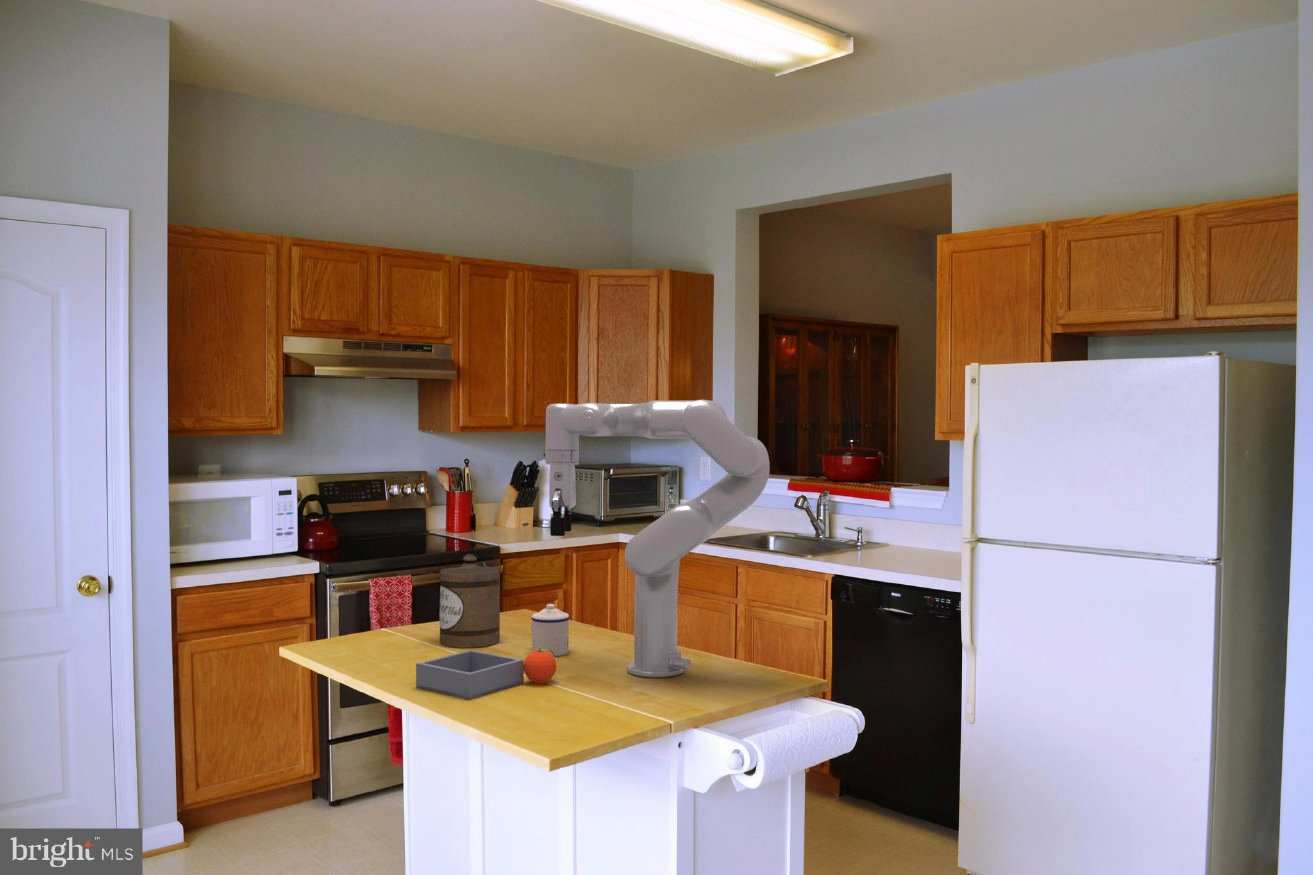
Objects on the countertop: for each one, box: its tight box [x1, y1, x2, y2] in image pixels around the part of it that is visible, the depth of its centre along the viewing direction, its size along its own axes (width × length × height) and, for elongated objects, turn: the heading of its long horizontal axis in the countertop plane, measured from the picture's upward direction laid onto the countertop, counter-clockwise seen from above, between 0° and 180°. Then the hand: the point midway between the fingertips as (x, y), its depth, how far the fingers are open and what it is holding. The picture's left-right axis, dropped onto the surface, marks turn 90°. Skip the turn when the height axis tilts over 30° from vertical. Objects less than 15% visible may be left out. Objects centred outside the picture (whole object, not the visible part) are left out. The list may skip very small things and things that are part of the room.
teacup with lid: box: [530, 603, 570, 658], centre depth 239 cm, size 12×9×12 cm
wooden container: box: [439, 553, 501, 649], centre depth 250 cm, size 15×15×22 cm
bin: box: [415, 649, 525, 700], centre depth 208 cm, size 16×16×5 cm
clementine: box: [524, 649, 557, 684], centre depth 211 cm, size 8×7×7 cm
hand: (561, 533), depth 226 cm, fingers open, 9 cm apart
